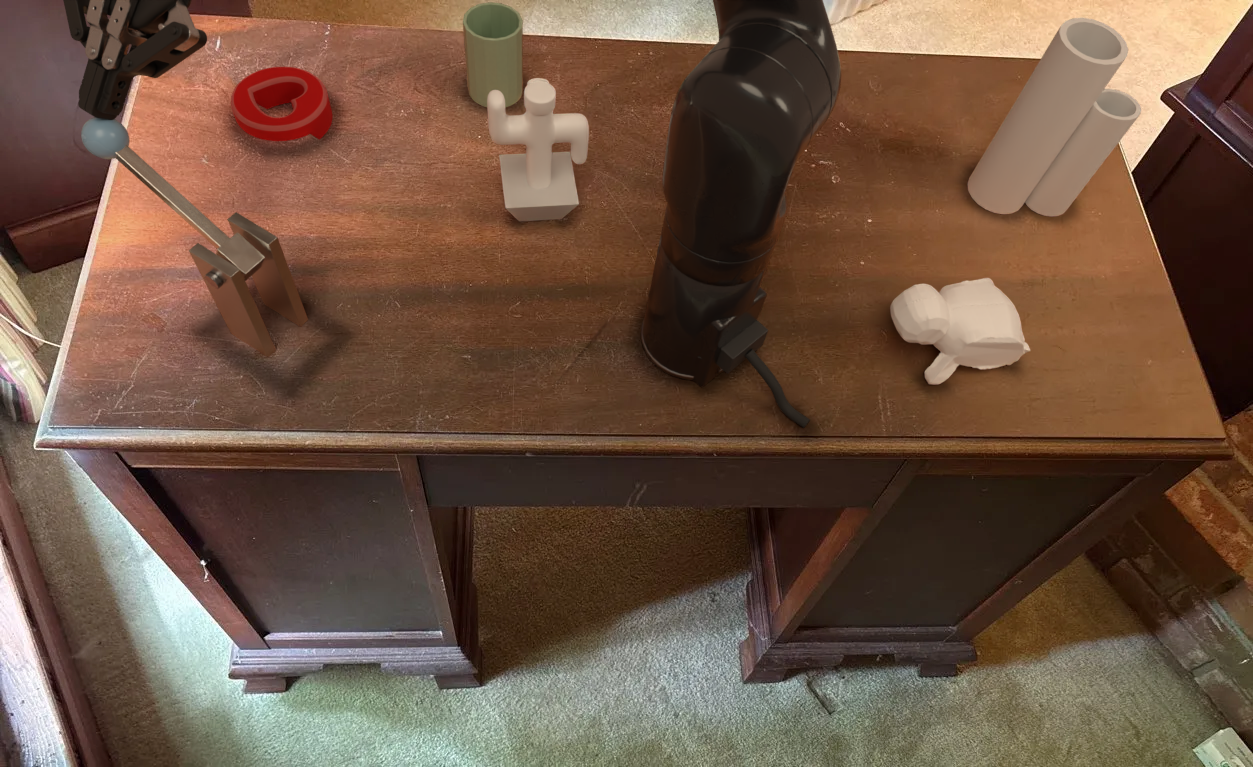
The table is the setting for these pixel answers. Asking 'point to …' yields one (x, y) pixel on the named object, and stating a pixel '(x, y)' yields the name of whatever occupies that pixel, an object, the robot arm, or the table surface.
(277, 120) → the decorative ornament
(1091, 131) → the vase
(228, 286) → the brown upright slabs
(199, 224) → the ball-ended lever
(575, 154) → the figurine
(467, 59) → the cup
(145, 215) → the table surface
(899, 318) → the white low-poly sculpture
